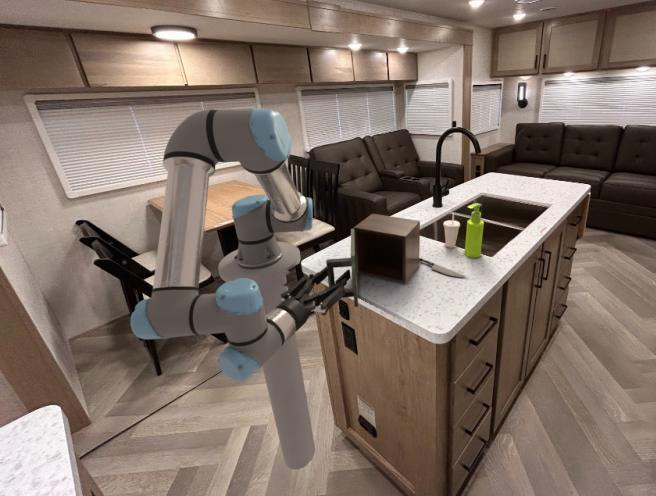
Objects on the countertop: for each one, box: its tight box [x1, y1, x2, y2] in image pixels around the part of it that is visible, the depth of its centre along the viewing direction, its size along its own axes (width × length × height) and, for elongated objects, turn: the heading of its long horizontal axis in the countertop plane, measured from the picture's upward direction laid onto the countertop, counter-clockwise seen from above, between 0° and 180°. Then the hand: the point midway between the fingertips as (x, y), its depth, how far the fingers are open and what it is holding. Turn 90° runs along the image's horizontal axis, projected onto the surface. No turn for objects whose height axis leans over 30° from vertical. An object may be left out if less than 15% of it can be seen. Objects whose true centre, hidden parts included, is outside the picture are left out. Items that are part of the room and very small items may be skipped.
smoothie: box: [443, 212, 461, 249], centre depth 125 cm, size 6×6×14 cm
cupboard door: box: [325, 228, 359, 308], centre depth 97 cm, size 8×18×17 cm, turn 8°
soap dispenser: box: [464, 202, 485, 259], centre depth 117 cm, size 6×7×20 cm
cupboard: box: [353, 213, 421, 285], centre depth 108 cm, size 13×18×17 cm
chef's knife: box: [419, 257, 467, 278], centre depth 110 cm, size 19×1×3 cm
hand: (339, 271), depth 94 cm, fingers open, 6 cm apart
